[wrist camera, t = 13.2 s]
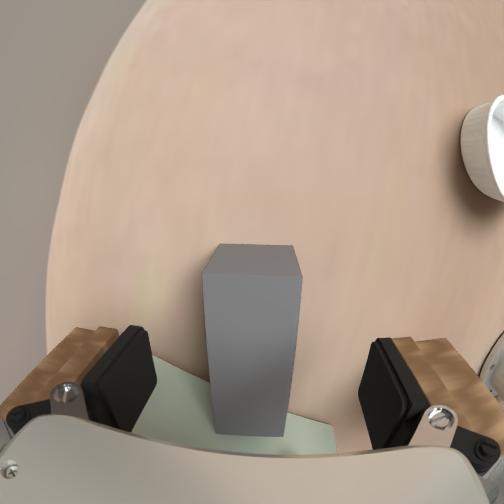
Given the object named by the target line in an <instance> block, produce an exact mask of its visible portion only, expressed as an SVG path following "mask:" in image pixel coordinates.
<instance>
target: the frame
mask: <svg viewBox="0 0 504 504" xmlns="http://www.w3.org/2000/svg"><path fill="white" fill-rule="evenodd" d="M118 338H119V334H118V330H117V329H112V328H105V327H99V328H98V329H97V330H96V331H92V330H87V329H82V328H77V327H76V328H75V329H74V330H73V331H72V332H71V333H70V334H69V335H68V336H67V337H66V338H65V339H64V340H63V341H62V342H61V343H59V344H58V345H57V346H56V347H55V348H54V349H53V350H52V351H51V352H50V353H49V354H48V355H47V356H46V357H45V358H44V359H43V360H42V361H41V362H40V363H39V365H37V367H36V368H35V369H34V370H33V371H32V372H31V373H30V374H29V375H28V376H27V377H26V378H25V379H24V380H23V381H22V382H21V383H20V384H19V385H18V386H17V388H16V389H15V390H14V391H13V392H12V393H11V394H10V395H9V396H8V398H6V400H5V401H4V402H3V403H2V404H1V405H0V419H3V420H4V421H6V416H7V414H8V412H9V411H10V410H11V409H12V408H14V407H16V406H20V405H25V404H29V403H34V402H39V401H43V400H47V399H50V392H51V391H52V389H53V388H54V387H55V386H56V385H58V384H60V383H63V382H75V383H77V384H79V385H80V384H81V383H82V379H83V378H84V377H85V375H86V374H87V373H88V372H89V371H90V370H91V368H92V367H93V366H94V365H95V364H96V363H97V361H98V360H99V359H100V358H101V357H102V356H103V355H104V353H105V352H106V351H107V350H108V349H109V348H110V347H111V345H112V344H113V343H114V342H115V341H116V340H117V339H118ZM392 341H393V342H394V344H395V346H396V348H397V349H398V351H399V353H400V354H401V356H402V358H403V360H404V361H405V363H406V365H407V366H408V367H409V368H410V370H411V371H412V373H413V375H414V377H415V379H416V380H417V382H418V384H419V386H420V388H421V389H422V391H423V393H424V395H425V397H426V399H427V401H428V402H429V404H430V406H434V405H443V406H447V407H449V408H451V409H452V410H453V411H454V412H455V413H456V415H457V417H458V424H457V426H460V427H463V428H465V429H468V430H470V431H473V432H476V433H478V434H481V435H484V436H487V437H489V438H492V439H494V440H495V441H496V442H497V443H498V444H499V446H500V450H501V454H500V455H501V456H504V410H503V408H502V407H501V405H500V404H499V403H498V401H497V400H496V399H495V397H494V396H493V395H492V393H491V392H490V391H489V390H488V388H487V387H486V386H485V384H484V383H483V382H482V381H481V379H480V378H479V377H478V376H477V374H476V373H475V372H474V371H473V369H472V368H471V367H470V366H469V365H468V363H467V362H466V361H465V360H464V359H463V357H462V356H461V355H460V354H459V353H458V351H457V350H456V349H455V348H454V347H453V346H452V345H451V343H450V342H449V341H448V340H447V339H446V338H441V339H434V340H427V341H418V342H414V341H413V339H412V338H411V337H405V338H394V339H392Z"/></svg>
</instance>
